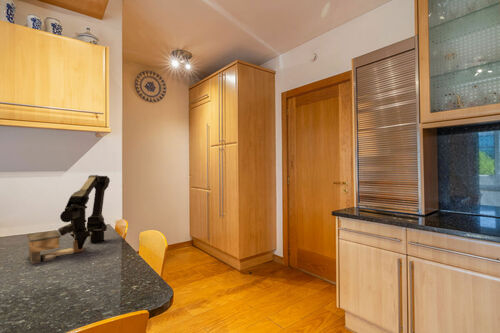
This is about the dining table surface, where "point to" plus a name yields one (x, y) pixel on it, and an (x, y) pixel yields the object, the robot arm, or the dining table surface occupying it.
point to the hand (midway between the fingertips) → (78, 248)
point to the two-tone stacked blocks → (68, 250)
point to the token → (49, 256)
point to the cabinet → (42, 244)
